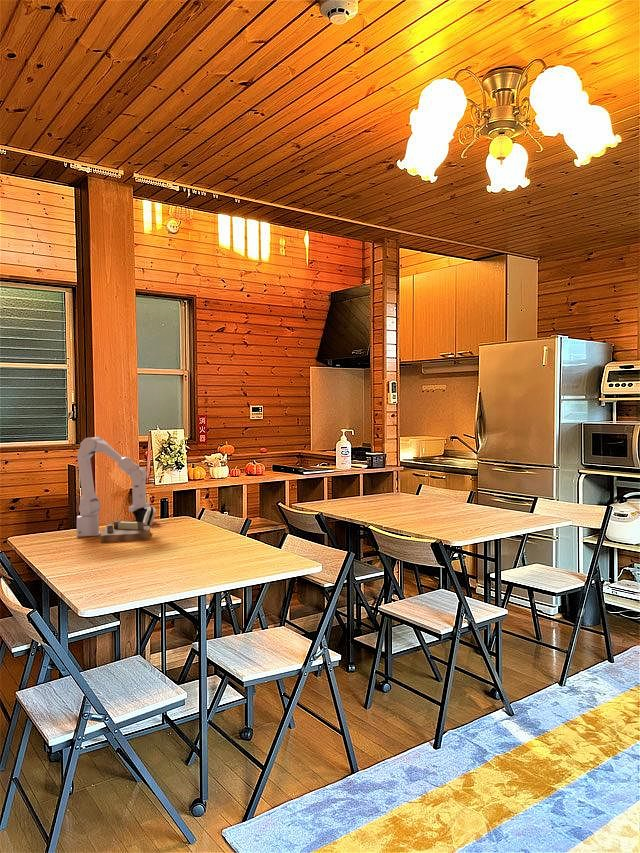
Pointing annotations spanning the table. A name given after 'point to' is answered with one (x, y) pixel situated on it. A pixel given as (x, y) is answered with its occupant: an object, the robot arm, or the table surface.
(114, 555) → the table surface
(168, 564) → the table surface
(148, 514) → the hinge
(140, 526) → the folding leg
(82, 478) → the robot arm
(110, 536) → the grey flat base
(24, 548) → the table surface
